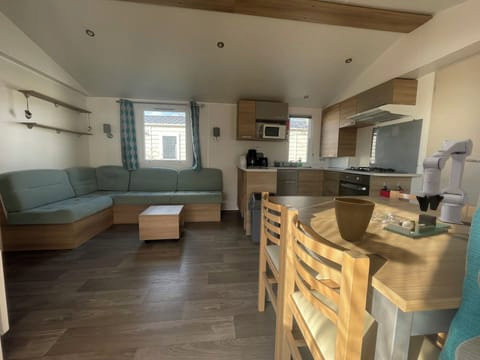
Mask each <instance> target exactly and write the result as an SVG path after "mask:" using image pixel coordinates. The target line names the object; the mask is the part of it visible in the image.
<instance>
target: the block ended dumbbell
mask: <svg viewBox="0 0 480 360" xmlns="http://www.w3.org/2000/svg"><path fill="white" fill-rule="evenodd" d="M437 219H438V216H434V215H431V214H426V213H421V214H419V215H418V219H417V220H418V221H417V222H418V223H414V222H411V223H412V224H413V229H414V230H415V226H416V224H420V227H426V226H432V225H434V226H435V227H436V222H437ZM408 221H409V222H410V221H411V220H408ZM420 227H419V228H420Z"/></svg>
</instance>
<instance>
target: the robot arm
mask: <svg viewBox="0 0 480 360" xmlns="http://www.w3.org/2000/svg"><path fill="white" fill-rule="evenodd" d="M473 146H474V144H473V140H472V139H471V138H467V139H466V138H465V139H450V140H449V139H448V140H447V139H445V140H444V141H443V142H442V145H441V149H437V151H435V152H434V153H433V154H432V155H431V156H430V157H428V156H427V157H426V158H424V159H423V161H422V168H423V169H422V170H423V171H422V172H423V183H422V190H419V191H418V194H417V195H416V196H415V198H416V200H417V202H418V204H419V205H418V206H419V210H420V212H423V213H426V212H428V209H429V210H430V211H437V209H438V207H439V206H440V204H441V205H442V206H441V210H440V216H437V219H439V220H440V221H441V222H442V223H450V224H457V225H464V223H463V222H462V221H461V219H462V213H463V208H464V207H466V206H467V205H468V203H469V193H468V191H467V190H465V189H463V188H462V184H463V179H464V178H463V177H464V170H465V165H466V163H465V162H466V160H467V157H470V156H471V155H472V152H473ZM450 158H451V164H450V172H449V179H448V186H447V187H446V188H442V190H441V191H440V185H441V177H442V170H444V168H445V165H446V164H447V161H448V160H449V159H450Z"/></svg>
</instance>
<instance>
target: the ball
mask: <svg viewBox="0 0 480 360" xmlns="http://www.w3.org/2000/svg"><path fill="white" fill-rule="evenodd" d="M409 221H410V220H405V221H402V222H403V223H402V226H404V227H407V228H411V229H413V224H412V223H411V222H409Z"/></svg>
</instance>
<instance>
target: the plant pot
mask: <svg viewBox="0 0 480 360" xmlns="http://www.w3.org/2000/svg"><path fill="white" fill-rule="evenodd" d="M333 205H334V214H335V219H336V225H337V229H338V232H339V234H340V237H341V238H342V239H343V240H346V241H349V242H350V241H351V242H360V241H362V239H363V238H364V236H365V234H366V232H367V229H368V227H369V224H370V222H371V220H372V217H373V213H374V212H375V211H374V209H375V206H376V201H375V202H374V201H372V200H368V199H364V198H363V199H362V198H357V197H343V196H342V197H334V198H333Z"/></svg>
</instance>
